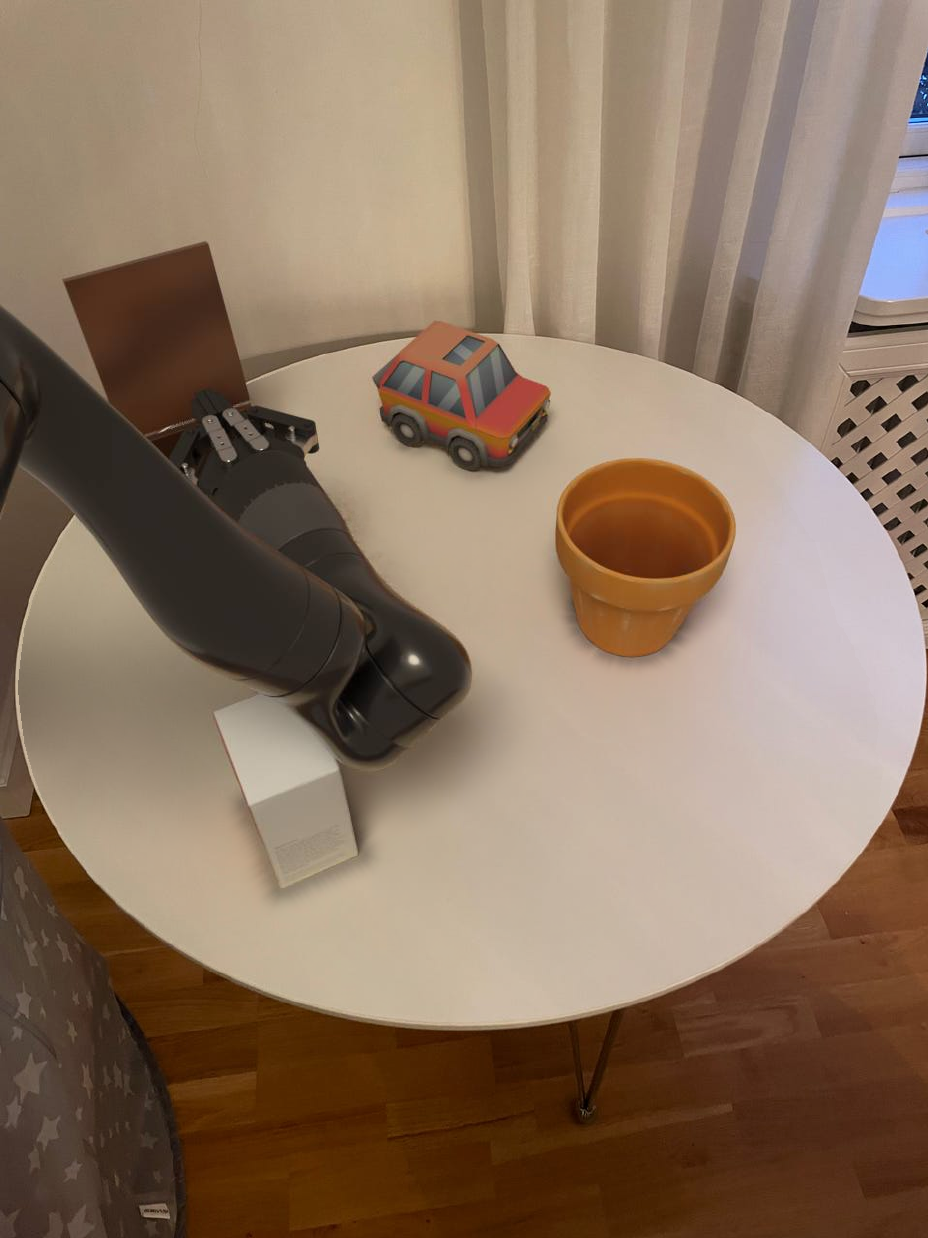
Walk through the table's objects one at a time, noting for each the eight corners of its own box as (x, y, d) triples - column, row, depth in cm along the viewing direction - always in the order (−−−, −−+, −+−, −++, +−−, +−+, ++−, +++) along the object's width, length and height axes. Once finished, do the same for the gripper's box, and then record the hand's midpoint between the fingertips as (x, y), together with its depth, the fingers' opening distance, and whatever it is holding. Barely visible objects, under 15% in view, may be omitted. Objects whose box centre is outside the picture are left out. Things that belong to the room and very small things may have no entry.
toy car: (502, 486, 96) (506, 407, 88) (368, 431, 101) (360, 352, 94) (556, 425, 102) (563, 346, 94) (427, 376, 107) (423, 298, 100)
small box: (245, 803, 73) (209, 709, 62) (322, 771, 74) (299, 675, 64) (279, 893, 68) (247, 807, 58) (360, 857, 70) (342, 767, 60)
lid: (208, 242, 81) (205, 240, 82) (63, 281, 77) (61, 278, 78) (250, 400, 91) (248, 396, 92) (124, 441, 87) (122, 438, 88)
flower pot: (521, 648, 82) (528, 545, 72) (580, 543, 90) (594, 438, 80) (675, 706, 78) (706, 606, 68) (723, 591, 86) (757, 487, 76)
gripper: (365, 457, 66) (271, 335, 76) (186, 523, 62) (111, 385, 72) (373, 532, 72) (285, 410, 82) (210, 597, 68) (138, 460, 77)
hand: (204, 399), depth 77 cm, fingers closed
